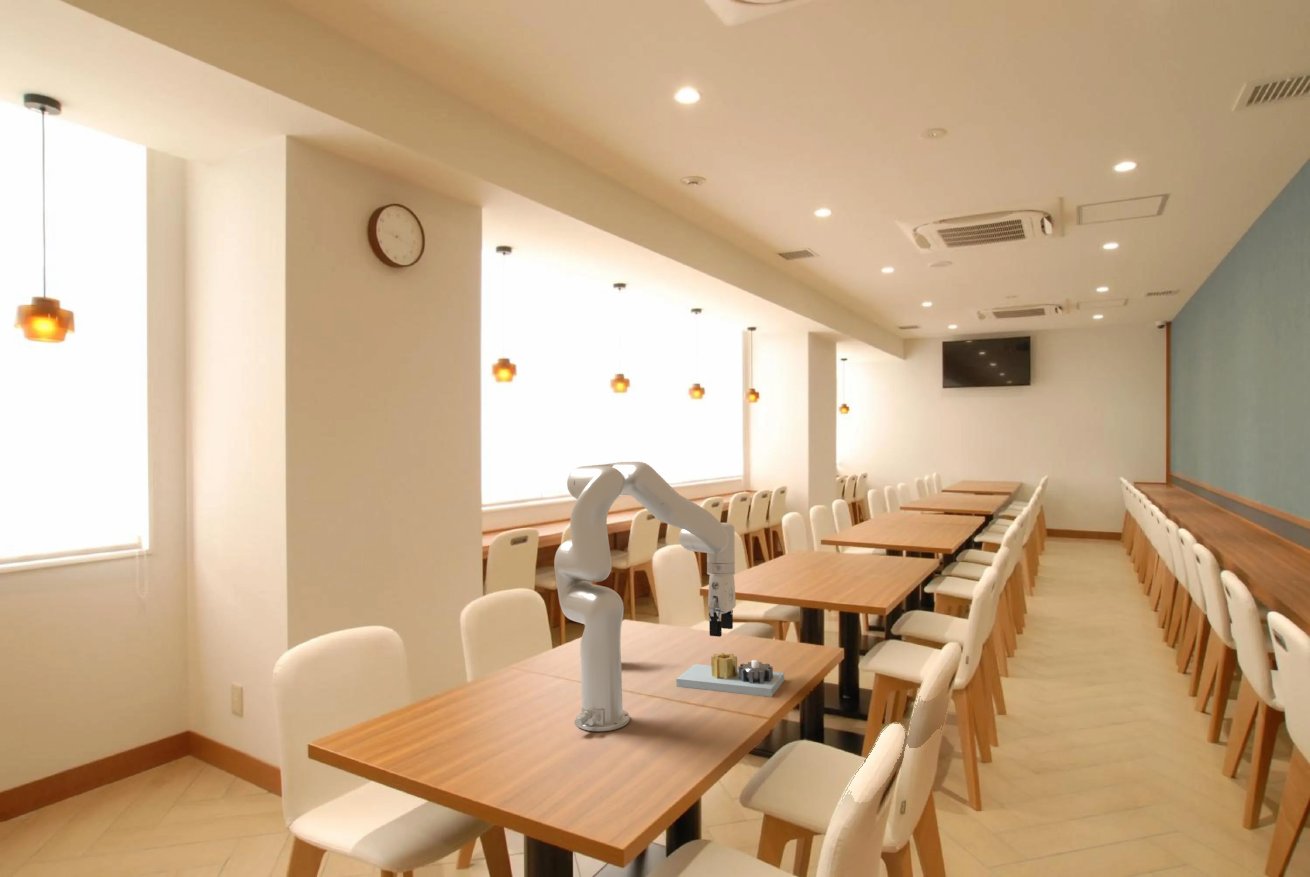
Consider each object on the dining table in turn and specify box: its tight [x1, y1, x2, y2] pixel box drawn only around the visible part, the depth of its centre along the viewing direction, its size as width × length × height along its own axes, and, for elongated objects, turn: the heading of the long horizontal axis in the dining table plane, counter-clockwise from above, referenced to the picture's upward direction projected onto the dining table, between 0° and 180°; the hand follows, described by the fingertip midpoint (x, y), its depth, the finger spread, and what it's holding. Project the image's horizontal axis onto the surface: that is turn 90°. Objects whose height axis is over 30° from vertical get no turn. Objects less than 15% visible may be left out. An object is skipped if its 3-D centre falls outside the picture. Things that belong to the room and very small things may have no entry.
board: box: [675, 659, 785, 698], centre depth 191 cm, size 14×26×6 cm, turn 66°
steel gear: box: [737, 661, 774, 684], centre depth 188 cm, size 9×9×3 cm
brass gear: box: [710, 652, 738, 679], centre depth 191 cm, size 7×7×5 cm
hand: (721, 632), depth 191 cm, fingers open, 9 cm apart
